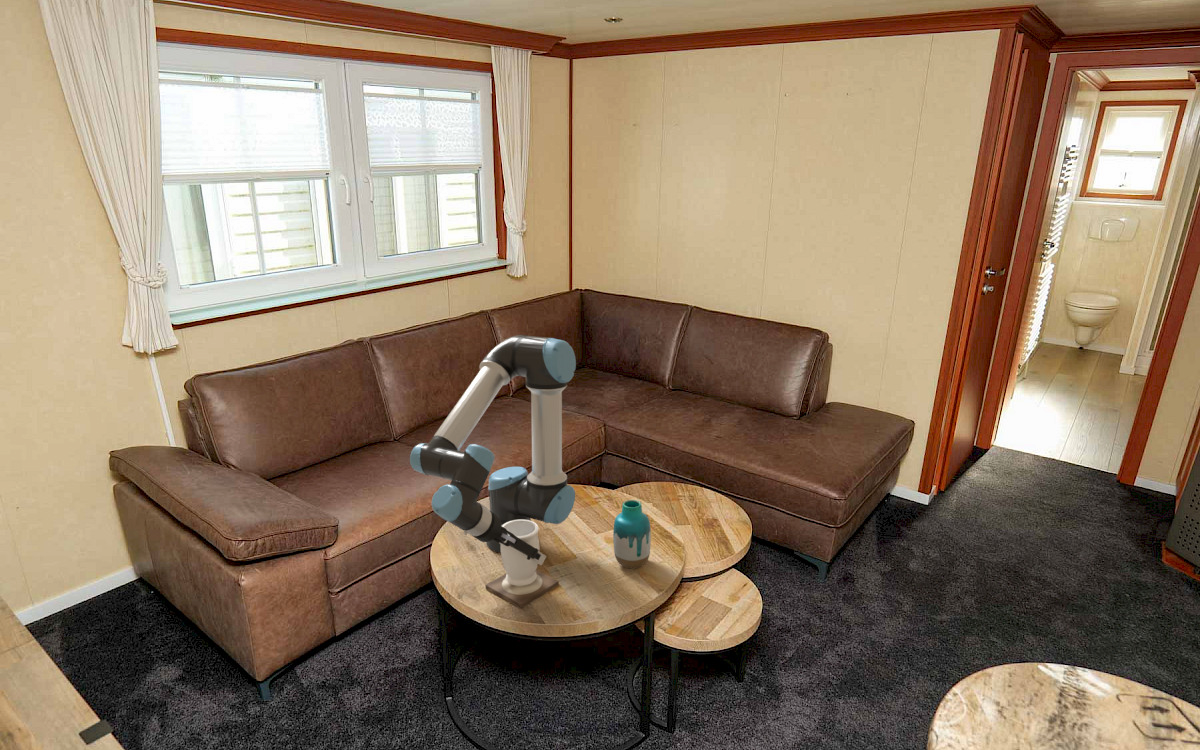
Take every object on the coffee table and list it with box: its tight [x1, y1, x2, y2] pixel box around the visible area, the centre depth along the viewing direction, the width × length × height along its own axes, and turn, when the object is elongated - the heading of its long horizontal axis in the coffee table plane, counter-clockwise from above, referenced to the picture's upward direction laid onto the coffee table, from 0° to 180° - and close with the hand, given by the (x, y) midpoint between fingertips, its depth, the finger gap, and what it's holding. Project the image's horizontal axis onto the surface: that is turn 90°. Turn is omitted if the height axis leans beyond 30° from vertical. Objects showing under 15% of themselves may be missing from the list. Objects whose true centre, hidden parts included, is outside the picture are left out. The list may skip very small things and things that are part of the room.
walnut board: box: [485, 569, 560, 609], centre depth 188 cm, size 14×14×1 cm
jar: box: [500, 519, 540, 586], centre depth 185 cm, size 11×10×15 cm
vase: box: [612, 499, 652, 569], centre depth 196 cm, size 11×11×19 cm
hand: (529, 553), depth 188 cm, fingers closed on jar, 10 cm apart
